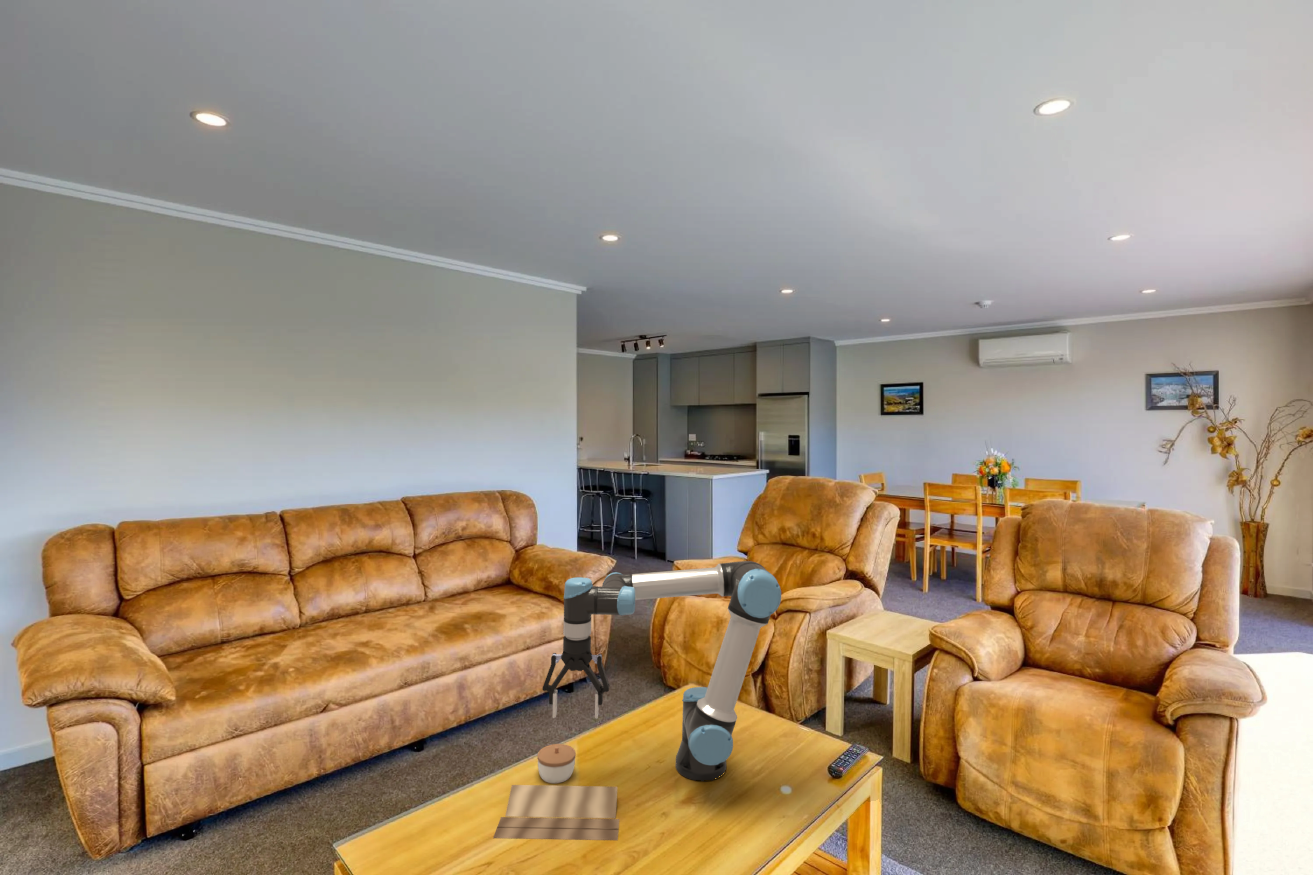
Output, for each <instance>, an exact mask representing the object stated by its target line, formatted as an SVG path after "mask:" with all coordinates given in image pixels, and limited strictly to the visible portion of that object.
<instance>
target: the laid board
mask: <svg viewBox="0 0 1313 875" xmlns="http://www.w3.org/2000/svg"><path fill="white" fill-rule="evenodd" d="M619 828H620V818H566V817H509V816H501V817H500V819H499V821H498V824H497V827H496V830H495V832H494V834H493V837H492V839H509V840H511V839H515V840H517V839H519V840H524V839H525V840H564V841H565V840H567V841H568V840H570V841H571V840H573V841H574V840H575V841H577V840H578V841H581V840H582V841H584V840H585V841H618V840H619Z"/></svg>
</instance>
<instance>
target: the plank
mask: <svg viewBox="0 0 1313 875" xmlns="http://www.w3.org/2000/svg"><path fill="white" fill-rule="evenodd" d="M617 801H618V786H597V785H596V786H594V785H593V786H591V785H589V786H587V785H545V784H544V785H541V784H540V785H538V784H537V785H534V784H511V788H510V792H509V796H508V802H507V805H506V810H505V815H504V817H530V818H587V819H617V817H616V816H617V803H618V802H617Z"/></svg>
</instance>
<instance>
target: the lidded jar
mask: <svg viewBox="0 0 1313 875" xmlns="http://www.w3.org/2000/svg"><path fill="white" fill-rule="evenodd" d="M576 755H577V754H576V750H575V749H574V747H572V746H571V745H568V744H566V743H565V744H564V743H552V744H549V745H546V746H544V747H542V748H541V749H540V750H539V751H538V753H537V768H538V773H539V776H540V778H541V779H542V780H543V781H544V782H545V783H548V784H560V783H563V782H566V781H567V780H569V779H570V778H571V776H572V774H573V772H574V770H575V765H576V757H577V756H576Z"/></svg>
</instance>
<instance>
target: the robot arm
mask: <svg viewBox="0 0 1313 875" xmlns="http://www.w3.org/2000/svg"><path fill="white" fill-rule="evenodd" d="M563 593H564V595H563V631H562V632H563V639H562V653H561V654H560V653H559V654H557V653H556V652H553V653H552V655H551V657H550V667H549V669H548V671H547V675H546V677H545V680H544V683H543V686H542V688H541V689H542V691H543V692H548V704H549V705H552V718H553V719H556V716H557V714H558V689H556V688H557V687H558V686H559V684H560V683H561V681H562V680H563V678H564V677H565V675H566V674H567V673H568V671H569V670H570V672H574V671H578V672H582V671H583V672H584V673H585V674H586V676H587V677H588V679H589V681H590V682H591V684H592V685H593V687H594V688H595V694H594V702H595V703H594V719H598V718H599V707H600V706H602V705H603V700H604V693H608V692H609V691H610V683H609V679H608V676H607V673H606V669H605V667H604V663H603V654H602V653H598V654H593V653H592V651H591V650H592V637H591V635H592V616H593V615H595V616H597V615H598V616H599V615H600V616H601V615H605V616H609V615H610V616H626V615H627V616H628V615H633V614H634V613H635V611H636V601H639V600H650V599H653V600H654V599H663V598H674V597H675V598H676V597H690V596H701V595H703V596H704V595H714V594H718V596H720V597H730V600H729V604H728V607H727V610H728V612H729V615H730V618H729V622H728V625H727V627H726V631H725V633H724V636H723V639H722V643H721V645H720V649H719V652H718V654H717V657H716V661H715V664H714V667H713V670H712V673H711V677H710V679H709V683H708V686H707V687H705V686H696V687H690V688H687V689H686V690H684V692H683V695H682V696H683V697H682V724H681V725H682V727H681V728H682V729H681V732H682V733H681V741H680V745H679V747H678V750H677V753H676V755H675V769H676V771H677V772H678V774H679V775H681V776H683V777H684V778H686V779H689V780H691V781H696V780H701V781H700V782H705V781H704V780H711V781H714V780H713V779H715V778H718V777H719V776H721V775H722V774H723V773H724V772H725V770H726V771H727V760H728V759H729V757H731V754H732V752H733V748H734V740H733V732H734V728H735V726H736V722H737V720H738V715H737V713H736V711H735V707H736V704H737V701H738V699H739V696H740V692H741V690H742V686H743V683H744V680H745V676H746V673H747V671H748V668H749V664H750V661H751V659H752V655H753V652H754V650H755V649H754V648H755V647H756V643H757V640H758V637H759V634H760V630H761V629H762V628H763V627H765V626H766V625H768V624H769V621H770V619H771V615H773V614H774V613H775V612H777V610H778V609H779V607H780V605H781V602H782V590H781V586H780V584H779V583H778V580H777V578H776V577H775V576H774V575H773V574H772V573H770V572H769V571H768V570H767V569H766V568H765V567H764V565H762V564H761V563H759V562H757V561H756V562H755V561H752V560H743V561H742V560H741V561H733V562H732V561H731V562H724V563H723V562H722V563H718V564H716V565H715V567H705V568H703V567H702V568H692V569H680V570H667V571H666V570H665V571H655V572H643V573H632V574H631V573H630V574H622V573H621V572H616V571H615V572H611V573H610V574H608V575H606V577H605V578H604V580H603V582H602V584H601V586H596V585H593V581H592V579H590V578H589V577H572V578H571V577H570V578H568V579H567V580H566V581H565V582H564V592H563ZM560 660H561V661H562V663H563V664H564V666H563V667H562V669H561V670H560V672H559V673H558V674H557V676H556V678H555V679H554V681H553V682H552V684H551V685H550V682H551V679H552V676H553V673H554V670H555V668H556V665H557V664H558V663H559V662H560ZM591 661H593V662H594V664H595V665H596V667H597V671H598V674H599V676H600V679H601V682H600V680H599V679H598V677H597V676H596V674H595V673H594V671H593V669H592V666H591V665H590V663H591ZM725 773H726V772H725ZM718 779H719V778H718ZM715 780H716V779H715Z"/></svg>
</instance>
